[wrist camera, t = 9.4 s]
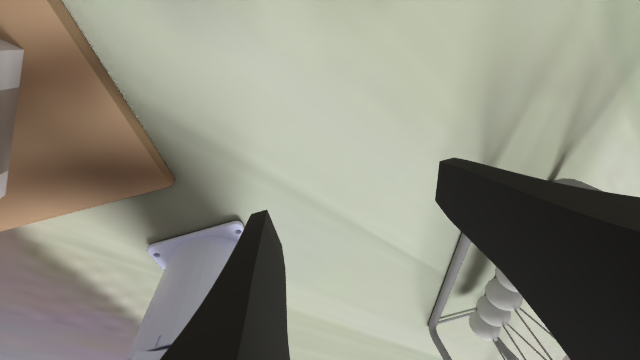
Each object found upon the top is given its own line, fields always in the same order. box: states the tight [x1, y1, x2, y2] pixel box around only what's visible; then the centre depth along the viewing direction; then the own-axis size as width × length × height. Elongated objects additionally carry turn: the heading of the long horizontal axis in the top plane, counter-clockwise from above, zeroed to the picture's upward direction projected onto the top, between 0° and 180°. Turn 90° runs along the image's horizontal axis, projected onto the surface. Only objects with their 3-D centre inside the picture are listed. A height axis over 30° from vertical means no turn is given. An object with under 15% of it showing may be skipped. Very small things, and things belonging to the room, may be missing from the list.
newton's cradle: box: [429, 179, 603, 360], centre depth 25 cm, size 30×10×18 cm, turn 4°
